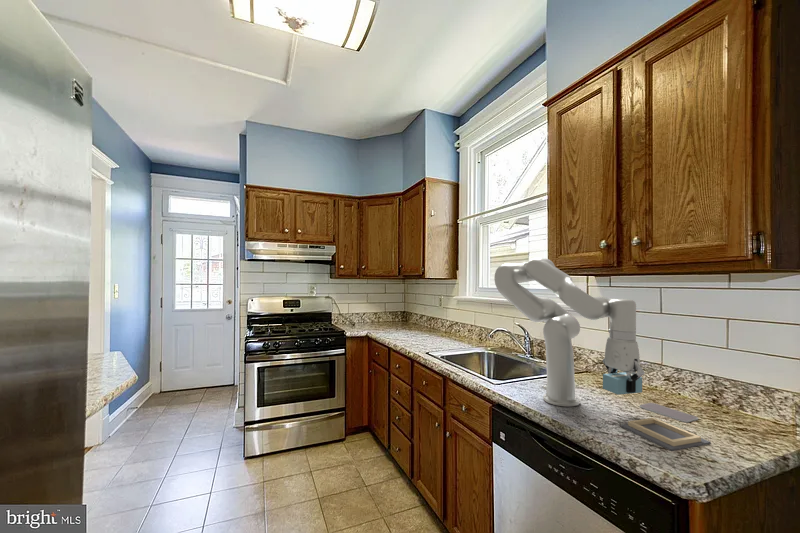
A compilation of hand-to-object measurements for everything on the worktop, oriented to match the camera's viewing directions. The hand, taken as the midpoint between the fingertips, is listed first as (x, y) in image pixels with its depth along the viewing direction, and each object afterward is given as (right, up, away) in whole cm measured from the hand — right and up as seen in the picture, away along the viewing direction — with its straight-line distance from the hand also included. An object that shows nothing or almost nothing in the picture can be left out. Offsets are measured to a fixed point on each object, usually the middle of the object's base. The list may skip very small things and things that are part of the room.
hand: (622, 388), depth 117 cm
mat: (+2, -8, -15) cm, 17 cm away
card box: (0, -1, 0) cm, 1 cm away
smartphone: (+16, -9, +1) cm, 18 cm away
